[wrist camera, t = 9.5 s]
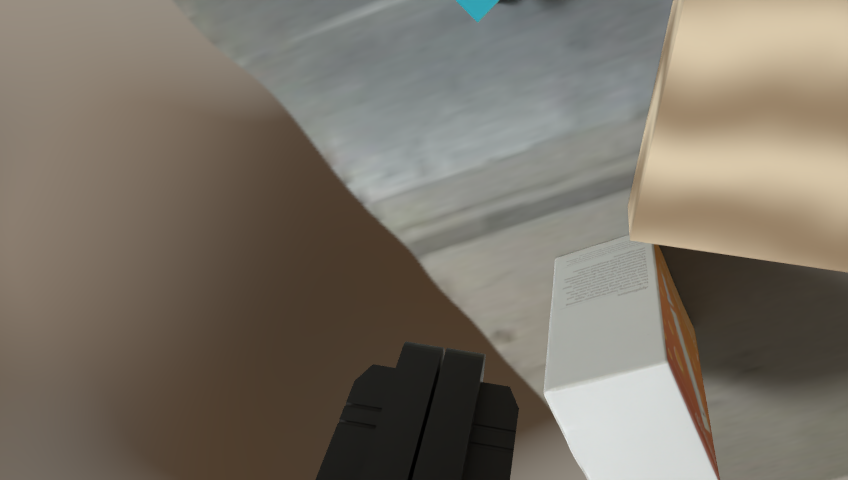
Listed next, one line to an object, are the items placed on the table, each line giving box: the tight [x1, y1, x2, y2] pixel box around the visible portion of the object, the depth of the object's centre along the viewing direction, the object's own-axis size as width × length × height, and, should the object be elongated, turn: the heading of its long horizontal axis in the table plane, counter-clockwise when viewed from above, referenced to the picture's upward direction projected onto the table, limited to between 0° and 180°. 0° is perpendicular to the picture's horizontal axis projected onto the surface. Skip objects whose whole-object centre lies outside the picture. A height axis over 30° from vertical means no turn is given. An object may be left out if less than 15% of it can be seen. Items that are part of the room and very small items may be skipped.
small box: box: [544, 235, 720, 480], centre depth 44 cm, size 8×6×13 cm
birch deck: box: [628, 0, 848, 272], centre depth 40 cm, size 17×12×4 cm
